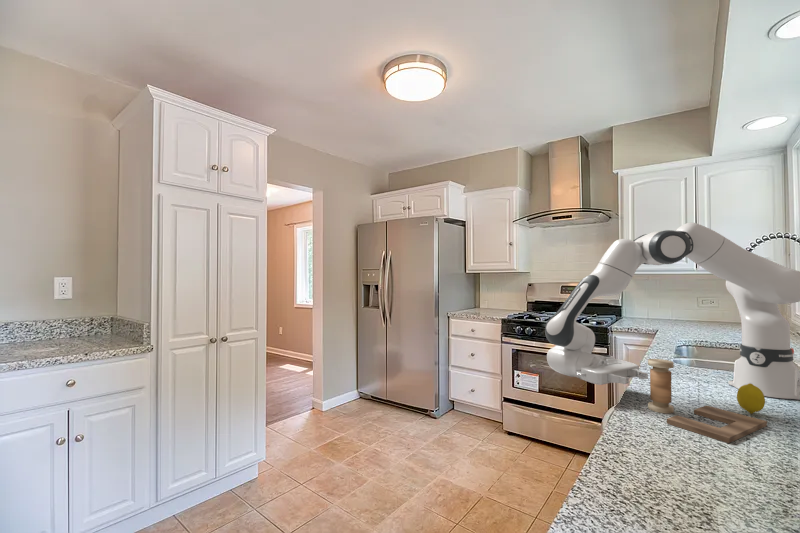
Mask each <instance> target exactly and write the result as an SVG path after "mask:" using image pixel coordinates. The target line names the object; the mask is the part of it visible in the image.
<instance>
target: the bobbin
mask: <svg viewBox="0 0 800 533" xmlns="http://www.w3.org/2000/svg"><path fill="white" fill-rule="evenodd" d="M647 365H648V366H650V367H652V368H650V369H649V370H650V371H649V374H650V375H649V379H650V380H649V386H650V388H649V389H650V390H649V398H650V401H649V402H647V408H648V410H650V411H653V412H655V413H660V414H674V413H675V407H674V406H673V405H672V398H673V397H672V371H670V369H673V368H674V366H675V363H674V361H672V360H667V359H663V358H649V359H647Z"/></svg>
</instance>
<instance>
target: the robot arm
mask: <svg viewBox="0 0 800 533" xmlns="http://www.w3.org/2000/svg"><path fill="white" fill-rule="evenodd" d="M684 258H688V260H690V261H691V262H693V263H695V264H696V265H697V266H700V268H702V269H703V270H705V271H707V272H708V273H710V274H712V276H715V277H716V278H719V279H721V280H724V281H725V288H726V291H728V293H729V294H730V295H731V296H732V297H733V299H734V301H735V304H736V308H737V311H738V313H739V316H740V321H741V343H740V344H739V355H740V357H739V358H737V359H736V360H735V361H734V366H733V367H734V368H733V380H728V382H727V383H728V385H730V386H733V387H734V388H736V389H737V390H739V388H740V387H741V386H743V385H747V384H749V383H750V384H753V385H754V386H756V387H758V388H759V389H760V390H761V391H762V392H763V394H764V397H769V398H776V399H788V400H791V399H792V400H799V401H800V369H799V368H798V367H797V364H796V365H795V363H794V353H795V349H794V348H792V347H791V325H790V323H789V321H788V320H787V319H786V318H785V317H784V315H782V311H780V307H779V305H789V304H793V303H799V302H800V270H796V269H792V268H790V267H787V266H784V265H781V264H779V263H777V262H774V261H773V260H771V259H768V258H765V257H763V256H761V255H758V254H756V253H754V252H751V251H749V250H747V249H745V248H743V247H741V246H740V245H739V244H737V243H735V242H734V241H732V240H731V239H729V238H727V237H726V236H724V235H722V234H721V233H720V232H719V233H718V232H717V231H715V230H713V229H711V228H709V227H706V226H704V225H702V224H699V223H697V222H686V223H684V224H681V225H680V226H678V227H677V228H676V230H669V229H665V230H655V231H652V232H650V233H647V234H646V233H645V234H643V235H640V236H638V237H637V238H635V239H633V240H632V239H629V238H619V239H617V240H615V241H613V243H611V245H610V246H609V247H608V249H607V250H606V251H605V253H604V254H603V255H602V257H601V258H600V260H599V262H598V264H597V265H596V266H595V268H594V269H593V271H591V273H589V274H588V275H587V276H585V277H583V278H582V279H581V280H580V281H579V282H578V283H577V285H576V286H575V287H574V289H573V290H572V291H571V292H570V294H569V295H568V297H567V298H566V299H565V301H564V302H563V303H562V305H561V306H560V308H559V309H558V310H557V311H556V312H555V313H554V314H553V315H552V316H551V317H550V318H549V319H548V320H547V321H546V324H545V326H544V327H545V328H544V334H545V337H546V340H547V341H548V343H550V344H551V345H554V346H553V347H551V348H550V349H548V351H547V354H546V360H547V361H546V362H547V364H548V366H549V367H550V368H551V369H552V371H555V372H557V373H559V374H561V375H564V376H568V377H571V378H574V377H575V378H578V379H579V380H583V381H585V382H588V383H591V384H594V385H599V386H600V385H601V386H603V385H606V384H607V385H608V384H611V383H612V384H623V385H626V384H629V383H630V382H629V380H630V379H634V378H638V379H640V380H644V381H645V380H648V378H649V374H648V373H647V372H643V371H641V370H640V365H638V364H637V363H633V362H631V361H626V360H624V359H623V360H622V359H618V358H615V357H614V356H612V355H600V354H596V353H593V350H594V347H595V345H596V335H595V332H594V331H593V329H591V328H589V327H587V326H586V325H584V324H582V323H579V322H578V321H577V319H578V318H579V317H580V315H581V314H582V312H583V311H584V310H585V308H586V307H587V305H588V304H589V303H590V302H591V300H593V299H595V298H598V297H612V296H617V295H620V294H621V293H623V292H624V290H626V289H627V288H628V286H629V285H630V283H631V282H632V279H633V278H634V275H635V274H636V272H637V270H638V269H639V267H640V266H641V265H647V266H649V265H650V266H652V265H653V266H662V265H672V264H676V263H677V262H680V261H681V260H683V259H684Z"/></svg>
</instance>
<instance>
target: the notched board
mask: <svg viewBox="0 0 800 533" xmlns="http://www.w3.org/2000/svg"><path fill="white" fill-rule="evenodd" d="M695 414H696V415H697V416H699V417H702V416H703V418H706V419H710V420H713V421H717V422H719V423H724V424H726V425H723V426H721V427H717V426H714V425H712V424H711V425H710V424H708V423H705V422H700V421H698V420H694V419H692V418H687V417H684V416H681V415H677V414H676V415H673V416H670V417H668V418H666V424H668V425H669V426H670V425H671V426H674V427H677V428H679V429H682V430H683V429H684V430H686V431H689V432H692V433H695V434H698V435H701V436H704V437H708V438H711V439H714V440H717V441H720V442H723V443H725V444H730V443H733V442H735V441H737V440H739V439H742V438H744V437H746V436H748V435H751V434H752V433H755V432H757V431H759V430H761V429H764V428H766V427H768V421H767V420H763V419H761V418H756V417H752V416H748V415H745V414H741V413H737V412H733V411H731V410H726V409H722V408H718V407H714V406H712V405H704V406H701V407H698V408H694V409H693V415H695Z"/></svg>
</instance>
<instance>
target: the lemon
mask: <svg viewBox="0 0 800 533" xmlns="http://www.w3.org/2000/svg"><path fill="white" fill-rule="evenodd" d="M736 401H737V403H738V405H739V406H740V408H742V409H743V410H745V411H746V412H748V414H751V415H752V414H754V413H758V412H760V411H762V410H763V409H764V407H765V404H766V399H765V396H764V394H763V392H762V391H761V390H760V389H759V388H758V387H756V386H754V385H753V384H750V383H749V384H747V385H743V386H741V387H740V388H739V389H737V393H736Z"/></svg>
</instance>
